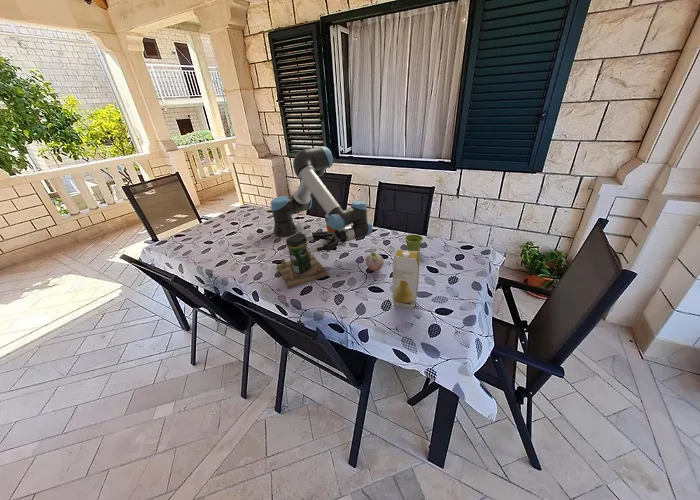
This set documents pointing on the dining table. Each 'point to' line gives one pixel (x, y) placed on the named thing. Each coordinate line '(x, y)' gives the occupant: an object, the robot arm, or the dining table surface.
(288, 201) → the robot arm
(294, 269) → the coffee jar
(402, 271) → the juice carton
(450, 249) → the dining table surface
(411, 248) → the plant pot
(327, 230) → the reusable coffee cup
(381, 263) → the decorative fruit
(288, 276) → the standoff base
